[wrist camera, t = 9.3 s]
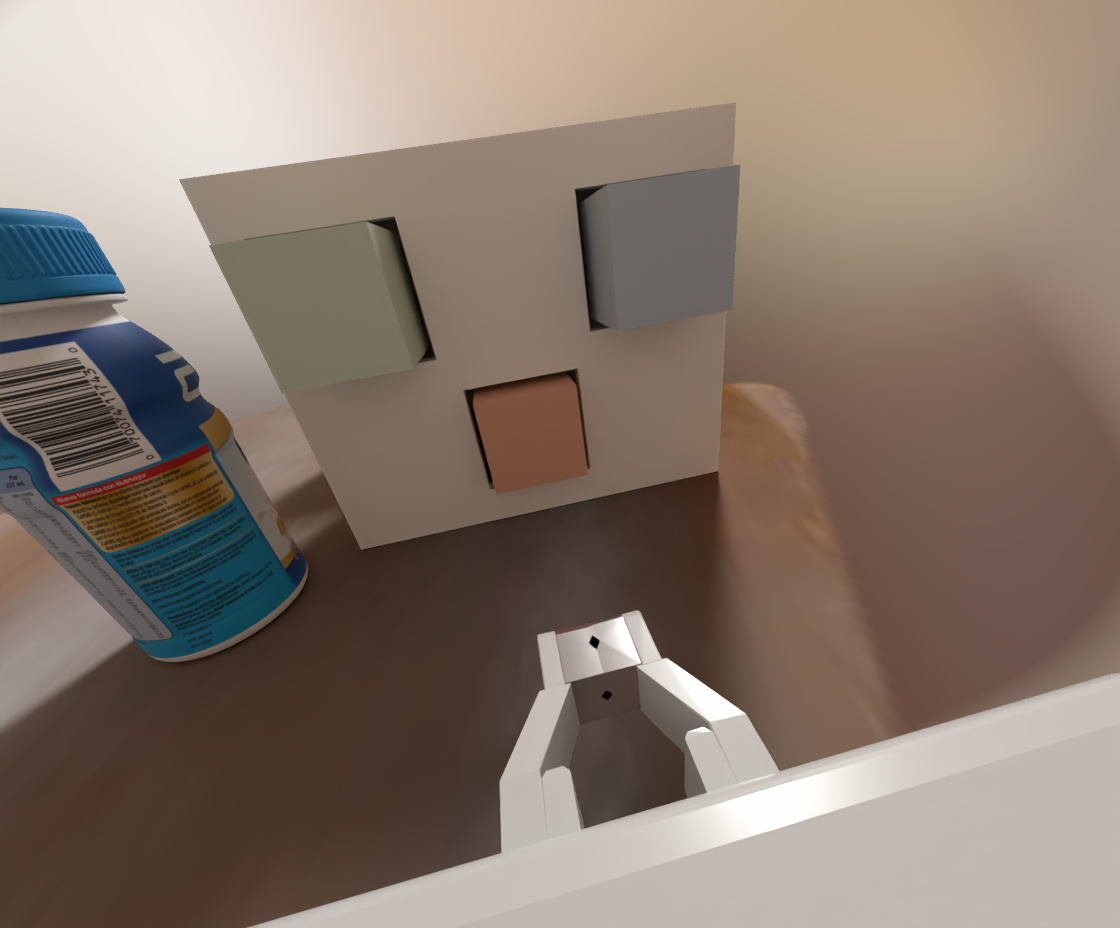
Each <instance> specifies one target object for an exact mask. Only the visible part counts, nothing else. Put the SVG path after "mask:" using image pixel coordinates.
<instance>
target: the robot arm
mask: <svg viewBox="0 0 1120 928" xmlns="http://www.w3.org/2000/svg"><path fill="white" fill-rule="evenodd" d="M555 633H556V634H555ZM537 641H538V648H539V655H540V662H541V669H542V676H543V684H544V690H541V691H539V693H538V695H537V697H536V699H535V702H534V704H533V706H532V709H531V711H530V713H529V716H528V718H527V720H526V722H525V725H524V727H523V729H522V732H521V734H520V736H519V738H518V741H517V743H516V745H515V748H514V750H513V752H512V754H511V757H510V759H509V761H508V764H507V766H506V768H505V770H504V773H503V775H502V777H501V780H500V815H501V853H499V854H496V855H493V856H489V857H486V858H482V859H479V860H476V861H472V862H469V863H465V864H462V865H459V866H455V867H452V868H448V869H445V870H441V871H438V872H435V873H431V874H428V875H424V876H421V877H418V878H414V879H411V880H407V881H404V882H401V883H397V884H394V885H390V886H387V887H384V888H380V889H377V890H373V891H370V892H367V893H363V894H360V895H356V896H353V897H350V898H346V899H343V900H339V901H336V902H333V903H329V904H326V905H322V906H319V907H316V908H312V909H309V910H305V911H302V912H298V913H295V914H292V915H288V916H285V917H281V918H278V919H275V920H271V921H268V922H264V923H261V924H258V925H254V926H251V927H247V928H1120V673H1116V674H1110V675H1106V676H1102V677H1100V678H1096V679H1093V680H1089V681H1086V682H1083V683H1079V684H1076V685H1073V686H1069V687H1066V688H1062V689H1059V690H1055V691H1052V692H1049V693H1045V694H1042V695H1038V696H1035V697H1031V698H1028V699H1025V700H1022V701H1018V702H1014V703H1011V704H1008V705H1005V706H1001V707H997V708H994V709H991V710H987V711H984V712H980V713H977V714H974V715H970V716H967V717H963V718H960V719H956V720H953V721H950V722H946V723H943V724H939V725H936V726H933V727H929V728H926V729H923V730H919V731H916V732H912V733H909V734H905V735H902V736H898V737H895V738H892V739H888V740H885V741H881V742H878V743H875V744H871V745H868V746H864V747H861V748H858V749H854V750H851V751H847V752H844V753H841V754H837V755H834V756H830V757H827V758H823V759H820V760H817V761H813V762H810V763H806V764H803V765H800V766H796V767H793V768H789V769H786V770H783V771H779V769H778V768H777V766H776V764H775V763H774V761H773V759H772V758H771V756H770V754H769V752H768V751H767V749H766V747H765V746H764V744H763V742H762V740H761V739H760V737H759V735H758V734H757V732H756V730H755V728H754V727H753V725H752V723H751V722H750V720H749V718H748V717H747V715H746V714H745V713H744V712H743V711H741V710H740V709H738V708H737V707H736V706H734V705H733V704H731V703H730V702H728V701H727V700H726V699H724V698H723V697H721V696H720V695H719V694H717V693H716V692H714V691H713V690H712V689H710V688H709V687H707V686H706V685H705V684H703V683H702V682H700V681H699V680H697V679H696V678H695V677H693V676H692V675H690V674H689V673H688V672H686V671H685V670H683V669H682V668H681V667H679V666H678V665H676V664H675V663H673V662H672V661H671V660H669V659H668V658H664V659H662V658H661V656H660V654H659V652H658V650H657V647H656V645H655V643H654V641H653V639H652V636H651V634H650V632H649V630H648V628H647V625H646V623H645V621H644V619H643V617H642V615H641V613H640V612H639V611H638V610H637V611H633V612H629V613H625V614H622V615H621V614H619V615H615V616H611V617H608V618H604V619H600V620H596V621H592V622H589V623H587V624H583V625H578V626H574V627H569V628H565V629H560V630H556V631H552V632H547V633H543V634H539V635H537ZM636 709H640V710H641V711H642V712H643V713H644V714H645V715H646V716H647V717H648V718H649V719H650V720H651V721H652V722H653V723H654V724H655V725H656V726H657V727H658V728H659V729H660V730H661V731H662V732H663V733H664V734H665V735H666V736H667V737H668V738H669V739H670V740H671V741H672V742H673V743H674V744H675V745H676V746H677V747H678V748H679V749H680V750H681V751H682V752H683V753H684V754H685V793H686V795H687V799H684V800H680V801H677V802H673V803H670V804H666V805H663V806H660V807H656V808H653V809H649V810H646V811H643V812H639V813H636V814H632V815H629V816H625V817H622V818H619V819H615V820H612V821H608V822H605V823H602V824H598V825H595V826H591V827H588V828H585V829H584V823H583V819H582V815H581V811H580V807H579V803H578V799H577V795H576V791H575V787H574V783H573V779H572V776H571V772H570V770H569V767H570V763H571V760H572V756H573V752H574V749H575V745H576V741H577V738H578V734H579V730H580V724H584V723H587V722H590V721H594V720H597V719H600V718H604V717H607V716H610V715H615V714H619V713H623V712H627V711H631V710H636Z"/></svg>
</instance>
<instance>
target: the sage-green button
mask: <svg viewBox="0 0 1120 928" xmlns="http://www.w3.org/2000/svg"><path fill="white" fill-rule="evenodd" d="M210 248H211V250H212V252H213V255H214V256H215V259H216V261H217V263H218V264H219V267H220V268H221V271H222V273H223V275H224V277H225V279H226V281H227V283H228V285H229V287H230V289H231V291H232V293H233V295H234V297H235V299H236V301H237V303H238V305H239V307H240V309H241V311H242V313H243V315H244V317H245V319H246V321H247V323H248V325H249V327H250V329H251V331H252V333H253V335H254V337H255V339H256V341H257V343H258V345H259V348H260V350H261V352H262V353H263V355H264V358H265V360H266V362H267V364H268V366H269V368H270V370H271V372H272V373H273V376H274V378H275V380H276V382H277V384H278V386H279V388H280V390H281V392H282V393H287V392H292V391H298V390H303V389H309V388H314V387H319V386H325V385H330V384H336V383H341V382H346V381H352V380H357V379H363V378H368V377H373V376H379V375H384V374H390V373H395V372H401V371H406V370H411V369H414V368H415V366H416V365H417V364H418V362H419V361H420V359H421V358H422V356H423V355H424V353H425V352H426V351H427V349H428V348H429V343H428V340H427V336H426V333H425V330H424V326H423V323H422V320H421V316H420V313H419V309H418V306H417V303H416V299H415V296H414V292H413V289H412V286H411V282H410V279H409V276H408V272H407V269H406V265H405V262H404V259H403V255H402V252H401V248H400V245H399V242H398V238H397V235H396V233H395V232H392V231H390V230H387V229H385V228H382V227H379V226H377V225H374V224H371V223H369V222H360V223H353V224H347V225H340V226H333V227H327V228H320V229H314V230H307V231H301V232H294V233H288V234H281V235H274V236H268V237H261V238H255V239H248V240H242V241H235V242H229V243H222V244H215V245H210Z"/></svg>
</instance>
